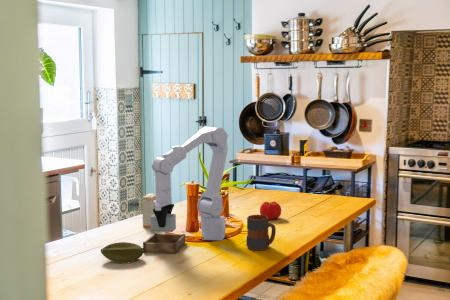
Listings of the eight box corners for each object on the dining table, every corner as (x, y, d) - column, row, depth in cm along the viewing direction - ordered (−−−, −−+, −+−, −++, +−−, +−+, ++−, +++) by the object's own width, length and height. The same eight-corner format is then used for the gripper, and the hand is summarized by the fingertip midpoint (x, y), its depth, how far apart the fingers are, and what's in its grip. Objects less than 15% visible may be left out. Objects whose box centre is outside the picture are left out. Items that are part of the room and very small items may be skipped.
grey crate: (175, 228, 224) (175, 214, 223) (172, 231, 219) (171, 217, 218) (155, 227, 225) (155, 213, 225) (151, 231, 221) (150, 216, 220)
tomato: (257, 220, 263) (257, 203, 262) (263, 215, 271) (263, 199, 270) (277, 222, 259) (277, 205, 258) (283, 217, 267) (283, 201, 266)
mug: (269, 254, 214) (268, 222, 212) (241, 248, 221) (241, 217, 220) (281, 248, 221) (281, 217, 219) (254, 243, 228) (254, 213, 226)
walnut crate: (185, 243, 228) (185, 233, 228) (175, 253, 215) (175, 243, 215) (154, 242, 231) (154, 232, 230) (143, 252, 218) (142, 242, 217)
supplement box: (153, 227, 253) (152, 197, 251) (142, 227, 254) (141, 196, 252) (159, 222, 261) (158, 193, 259) (148, 222, 262) (147, 193, 260)
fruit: (124, 268, 201) (124, 249, 200) (99, 262, 207) (98, 243, 206) (147, 259, 210) (146, 241, 209) (122, 253, 217) (121, 236, 216)
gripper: (158, 185, 228) (159, 220, 230) (146, 193, 214) (147, 229, 216) (176, 186, 227) (177, 220, 228) (165, 193, 213) (166, 230, 214)
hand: (164, 225), depth 222 cm, fingers closed on grey crate, 5 cm apart
